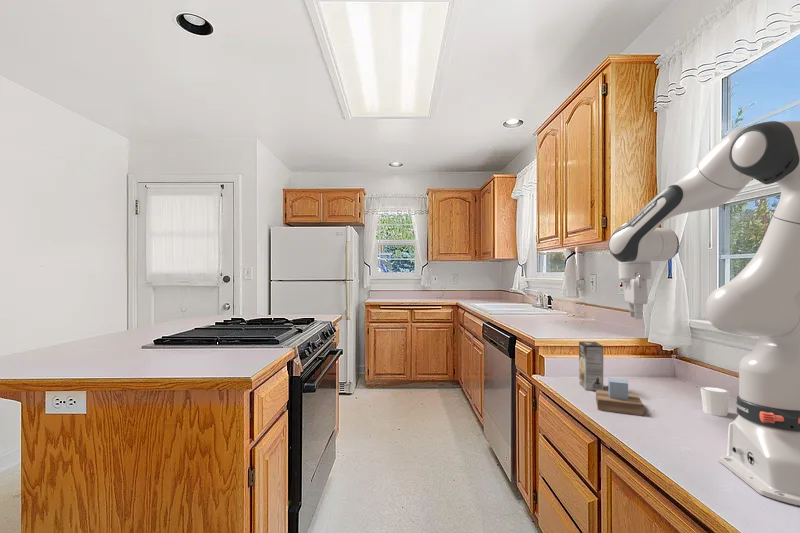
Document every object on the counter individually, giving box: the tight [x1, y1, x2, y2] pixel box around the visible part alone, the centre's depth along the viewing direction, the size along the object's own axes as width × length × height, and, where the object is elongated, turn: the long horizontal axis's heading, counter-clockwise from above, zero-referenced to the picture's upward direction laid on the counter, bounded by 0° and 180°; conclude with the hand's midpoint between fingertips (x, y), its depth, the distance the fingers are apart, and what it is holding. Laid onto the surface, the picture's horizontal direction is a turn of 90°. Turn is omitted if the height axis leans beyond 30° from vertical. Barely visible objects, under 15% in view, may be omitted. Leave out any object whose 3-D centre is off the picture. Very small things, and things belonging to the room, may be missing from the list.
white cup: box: [700, 386, 731, 417], centre depth 118 cm, size 7×7×7 cm
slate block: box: [607, 377, 629, 400], centre depth 123 cm, size 5×5×5 cm
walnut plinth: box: [595, 389, 645, 416], centre depth 123 cm, size 12×12×3 cm
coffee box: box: [578, 341, 604, 391], centre depth 145 cm, size 9×6×16 cm
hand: (635, 318), depth 122 cm, fingers open, 8 cm apart
